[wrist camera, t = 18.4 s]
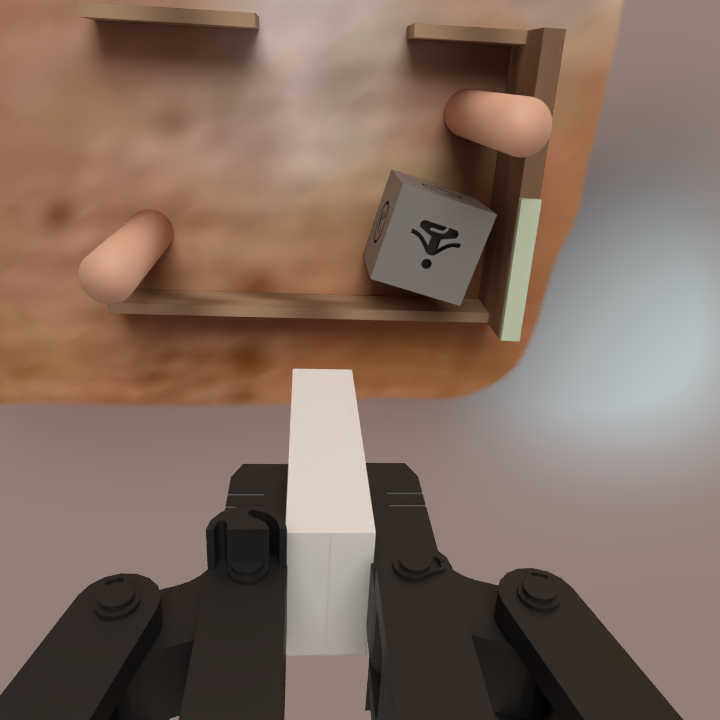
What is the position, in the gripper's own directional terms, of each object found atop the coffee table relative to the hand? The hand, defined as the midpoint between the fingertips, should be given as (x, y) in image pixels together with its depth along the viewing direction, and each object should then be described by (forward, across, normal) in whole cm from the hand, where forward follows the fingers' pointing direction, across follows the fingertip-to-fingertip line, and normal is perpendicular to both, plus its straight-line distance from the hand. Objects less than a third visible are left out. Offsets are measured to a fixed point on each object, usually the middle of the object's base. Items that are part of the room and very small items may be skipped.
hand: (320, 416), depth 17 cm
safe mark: (+17, +10, -1) cm, 20 cm away
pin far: (+22, -9, 0) cm, 24 cm away
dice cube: (+23, +6, 0) cm, 23 cm away
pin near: (+22, +8, +6) cm, 25 cm away
